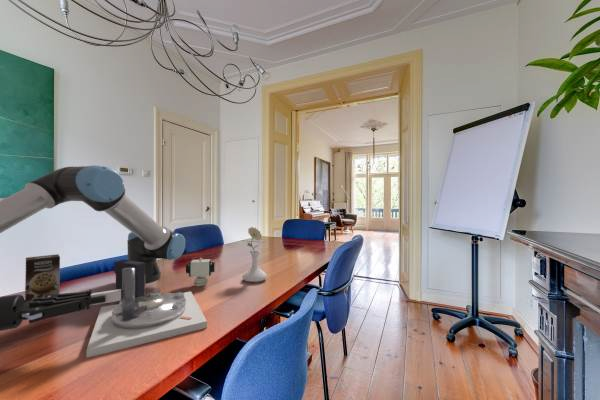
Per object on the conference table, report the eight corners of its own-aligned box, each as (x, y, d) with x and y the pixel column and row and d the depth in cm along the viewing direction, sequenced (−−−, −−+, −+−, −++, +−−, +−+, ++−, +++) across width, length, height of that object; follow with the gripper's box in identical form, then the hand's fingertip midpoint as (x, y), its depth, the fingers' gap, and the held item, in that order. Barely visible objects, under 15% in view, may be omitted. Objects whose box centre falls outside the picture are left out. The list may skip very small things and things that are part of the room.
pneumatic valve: (213, 286, 112) (214, 259, 112) (185, 287, 110) (185, 260, 110) (215, 282, 118) (215, 256, 118) (188, 283, 115) (188, 257, 115)
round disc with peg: (115, 307, 84) (115, 257, 84) (181, 295, 95) (181, 251, 95) (108, 336, 67) (108, 273, 67) (190, 318, 78) (190, 264, 78)
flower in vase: (271, 281, 120) (271, 228, 119) (248, 285, 113) (248, 229, 113) (259, 274, 130) (259, 225, 130) (237, 278, 124) (237, 226, 124)
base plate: (101, 312, 86) (101, 306, 86) (191, 296, 101) (191, 290, 101) (86, 357, 62) (86, 348, 62) (206, 327, 77) (206, 320, 77)
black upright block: (146, 302, 95) (146, 261, 95) (136, 306, 91) (136, 264, 91) (125, 298, 98) (125, 259, 98) (113, 302, 94) (114, 261, 94)
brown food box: (25, 305, 91) (25, 260, 91) (24, 300, 95) (24, 257, 95) (60, 298, 97) (60, 256, 97) (58, 293, 102) (58, 253, 102)
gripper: (8, 319, 64) (122, 299, 77) (-20, 344, 53) (119, 317, 66) (8, 289, 64) (122, 275, 77) (-20, 308, 53) (119, 288, 66)
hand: (120, 294), depth 71 cm, fingers closed
